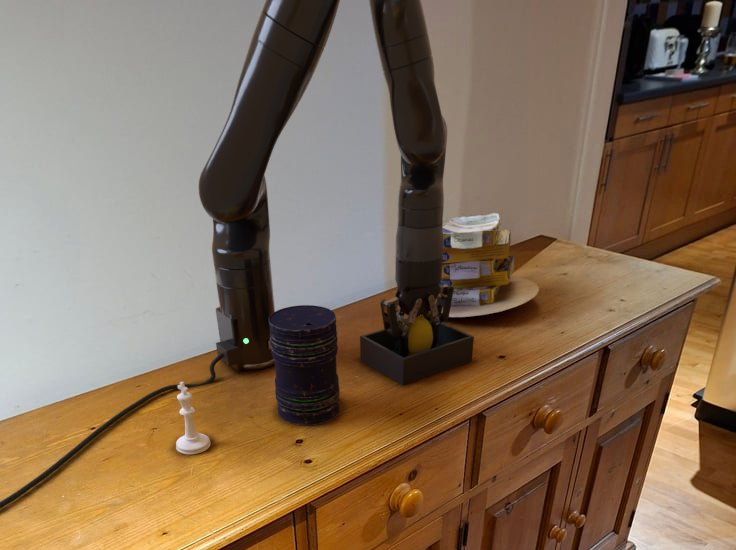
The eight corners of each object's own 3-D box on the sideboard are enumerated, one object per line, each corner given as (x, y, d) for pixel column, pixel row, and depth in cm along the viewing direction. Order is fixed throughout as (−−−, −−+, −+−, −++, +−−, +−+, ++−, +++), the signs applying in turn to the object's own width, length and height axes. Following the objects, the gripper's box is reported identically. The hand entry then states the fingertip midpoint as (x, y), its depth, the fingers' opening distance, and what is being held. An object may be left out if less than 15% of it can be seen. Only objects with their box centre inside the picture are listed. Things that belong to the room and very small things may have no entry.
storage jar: (269, 402, 112) (260, 310, 103) (328, 390, 115) (323, 300, 106) (287, 431, 104) (278, 335, 95) (349, 418, 107) (346, 324, 98)
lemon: (430, 366, 120) (432, 321, 115) (397, 364, 121) (398, 319, 116) (433, 353, 124) (435, 309, 120) (402, 351, 125) (403, 307, 121)
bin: (402, 385, 116) (403, 359, 113) (360, 360, 124) (359, 335, 121) (472, 361, 122) (474, 336, 120) (427, 339, 130) (428, 315, 128)
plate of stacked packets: (393, 315, 140) (394, 228, 130) (441, 277, 158) (445, 198, 148) (513, 335, 131) (524, 243, 121) (550, 293, 148) (562, 209, 138)
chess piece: (195, 433, 105) (184, 371, 99) (217, 443, 102) (207, 380, 96) (169, 447, 102) (155, 384, 96) (191, 458, 99) (179, 394, 93)
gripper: (438, 238, 118) (434, 335, 128) (368, 255, 111) (369, 355, 121) (469, 249, 113) (461, 348, 123) (397, 267, 106) (396, 370, 116)
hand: (416, 351), depth 122 cm, fingers closed on lemon, 5 cm apart
